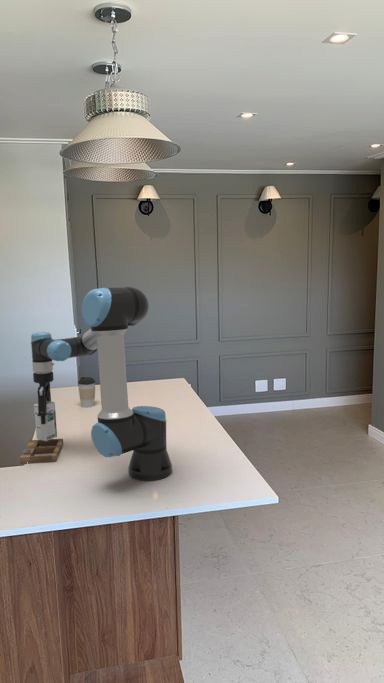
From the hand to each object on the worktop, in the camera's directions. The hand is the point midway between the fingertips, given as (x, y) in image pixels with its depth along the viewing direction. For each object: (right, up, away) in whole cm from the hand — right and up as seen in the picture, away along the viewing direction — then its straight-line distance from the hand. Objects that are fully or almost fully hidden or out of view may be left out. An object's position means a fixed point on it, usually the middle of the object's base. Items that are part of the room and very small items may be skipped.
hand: (46, 428), depth 194 cm
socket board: (0, -9, -3) cm, 10 cm away
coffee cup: (+3, 0, +65) cm, 65 cm away
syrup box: (0, -4, +1) cm, 4 cm away
